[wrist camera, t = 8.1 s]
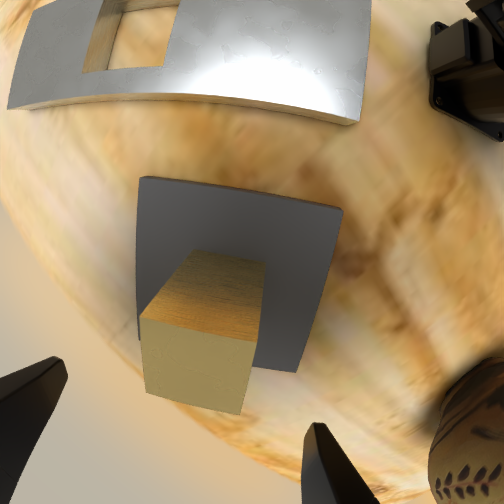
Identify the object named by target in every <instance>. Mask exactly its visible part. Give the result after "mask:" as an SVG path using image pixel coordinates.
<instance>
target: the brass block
mask: <svg viewBox="0 0 504 504" xmlns="http://www.w3.org/2000/svg"><path fill="white" fill-rule="evenodd" d="M265 267H266V262H261V261H255V260H250V259H245V258H239V257H234V256H228V255H223V254H218V253H212V252H207V251H202V250H197V249H193V250H192V252H191V253H190V254H189V255H188V256H187V258H186V259H185V260H184V261H183V262H182V264H181V265H180V266H179V267H178V268H177V270H176V271H175V272H174V273H173V275H172V276H171V277H170V278H169V280H168V281H167V282H166V283H165V285H164V286H163V287H162V288H161V289H160V291H159V292H158V293H157V295H156V296H155V297H154V298H153V300H152V301H151V302H150V303H149V305H148V306H147V307H146V308H145V310H144V311H143V312H142V314H141V315H140V316H139V320H140V337H141V350H142V361H143V371H144V380H145V389H146V393H149V394H153V395H156V396H159V397H163V398H166V399H170V400H173V401H177V402H181V403H185V404H189V405H193V406H197V407H201V408H206V409H210V410H215V411H220V412H225V413H230V414H236V415H240V413H241V409H242V405H243V400H244V396H245V392H246V388H247V384H248V380H249V375H250V371H251V367H252V363H253V358H254V354H255V350H256V345H257V339H258V330H259V322H260V313H261V304H262V295H263V286H264V277H265Z"/></svg>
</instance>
